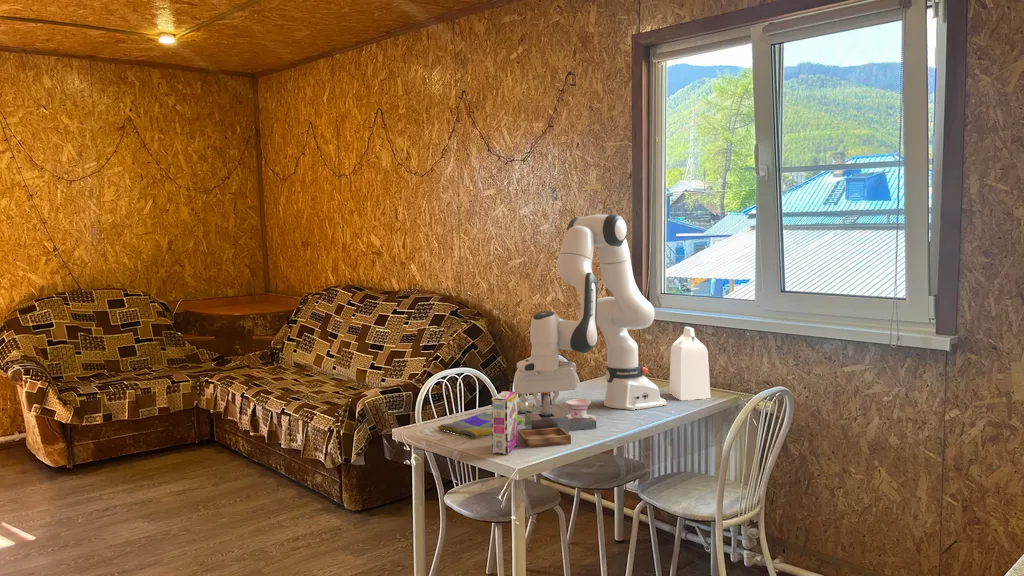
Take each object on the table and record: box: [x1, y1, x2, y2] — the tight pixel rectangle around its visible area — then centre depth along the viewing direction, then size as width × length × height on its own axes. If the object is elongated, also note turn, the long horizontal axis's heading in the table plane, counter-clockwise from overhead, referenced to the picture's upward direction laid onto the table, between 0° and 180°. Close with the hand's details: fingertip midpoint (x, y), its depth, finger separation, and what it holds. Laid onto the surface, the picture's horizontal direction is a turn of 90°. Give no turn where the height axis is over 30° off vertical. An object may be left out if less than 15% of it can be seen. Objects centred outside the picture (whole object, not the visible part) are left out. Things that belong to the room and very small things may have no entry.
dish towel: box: [437, 411, 523, 440], centre depth 254 cm, size 18×24×3 cm
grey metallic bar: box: [540, 392, 552, 418], centre depth 247 cm, size 3×3×14 cm
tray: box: [518, 427, 572, 448], centre depth 235 cm, size 14×10×2 cm
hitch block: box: [524, 410, 597, 434], centre depth 249 cm, size 22×9×5 cm, turn 103°
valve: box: [517, 394, 535, 414], centre depth 271 cm, size 7×7×12 cm
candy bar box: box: [491, 390, 519, 456], centre depth 228 cm, size 11×5×16 cm, turn 163°
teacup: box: [563, 398, 597, 421], centre depth 260 cm, size 12×12×6 cm
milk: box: [668, 326, 712, 401], centre depth 289 cm, size 12×12×26 cm
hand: (545, 405), depth 247 cm, fingers closed on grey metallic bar, 3 cm apart
